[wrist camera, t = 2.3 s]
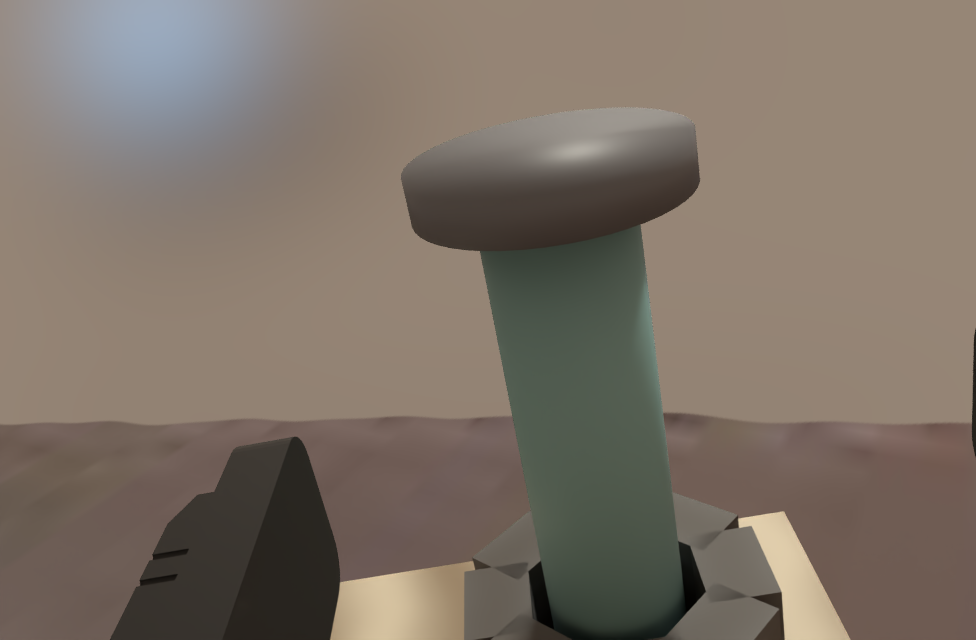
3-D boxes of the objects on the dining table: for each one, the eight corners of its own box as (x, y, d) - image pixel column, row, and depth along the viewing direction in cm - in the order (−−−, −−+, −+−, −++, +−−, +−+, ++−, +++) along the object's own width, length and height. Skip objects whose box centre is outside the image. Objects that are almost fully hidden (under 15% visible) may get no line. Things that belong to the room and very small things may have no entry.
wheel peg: (525, 794, 26) (390, 219, 19) (514, 619, 32) (409, 139, 26) (774, 758, 26) (730, 158, 19) (713, 588, 32) (663, 92, 25)
